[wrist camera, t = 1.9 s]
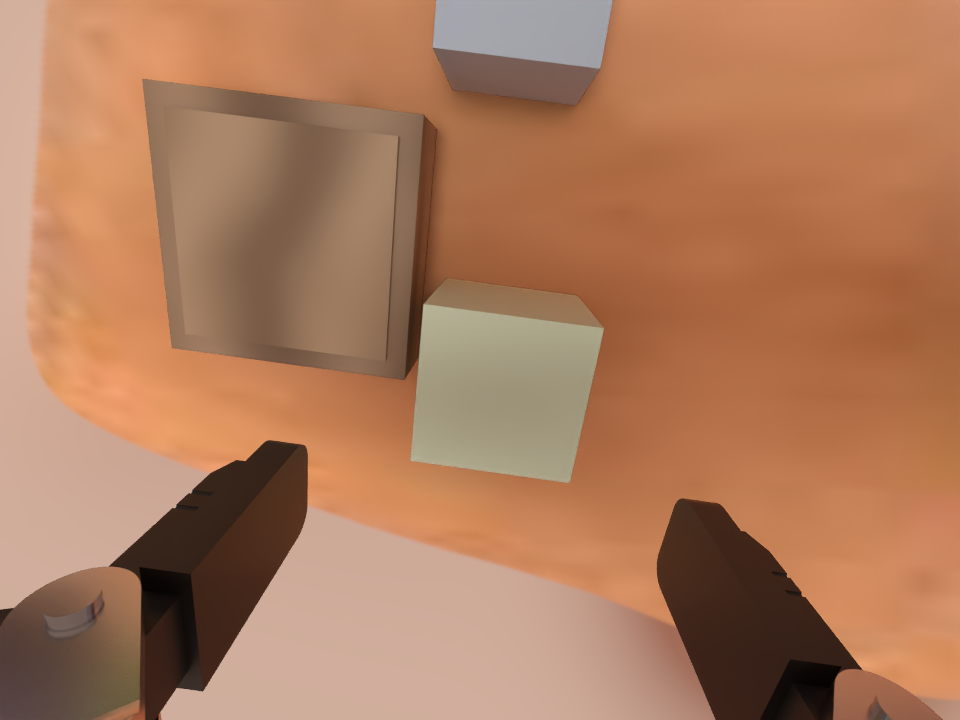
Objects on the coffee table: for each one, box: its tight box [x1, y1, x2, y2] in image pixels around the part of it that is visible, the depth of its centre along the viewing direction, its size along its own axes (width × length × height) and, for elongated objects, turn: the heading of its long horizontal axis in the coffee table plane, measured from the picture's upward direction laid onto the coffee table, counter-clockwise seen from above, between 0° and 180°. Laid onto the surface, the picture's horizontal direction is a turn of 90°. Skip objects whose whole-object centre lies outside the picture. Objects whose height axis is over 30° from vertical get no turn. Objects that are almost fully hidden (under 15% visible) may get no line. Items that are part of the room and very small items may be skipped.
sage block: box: [410, 278, 604, 483], centre depth 18 cm, size 6×6×6 cm
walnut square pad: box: [142, 79, 437, 380], centre depth 18 cm, size 10×10×3 cm
